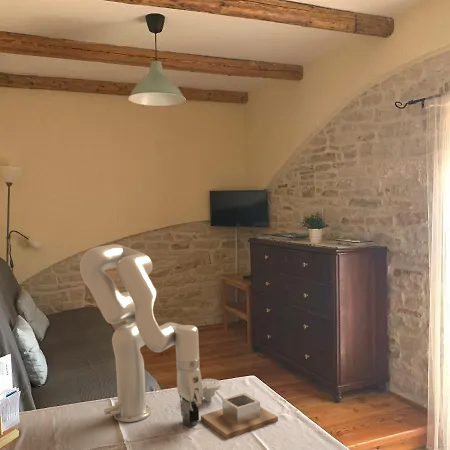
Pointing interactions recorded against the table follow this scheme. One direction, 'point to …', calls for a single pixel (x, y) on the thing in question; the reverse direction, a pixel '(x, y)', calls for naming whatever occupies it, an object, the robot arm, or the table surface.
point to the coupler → (187, 413)
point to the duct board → (238, 416)
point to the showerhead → (210, 388)
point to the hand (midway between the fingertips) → (190, 417)
